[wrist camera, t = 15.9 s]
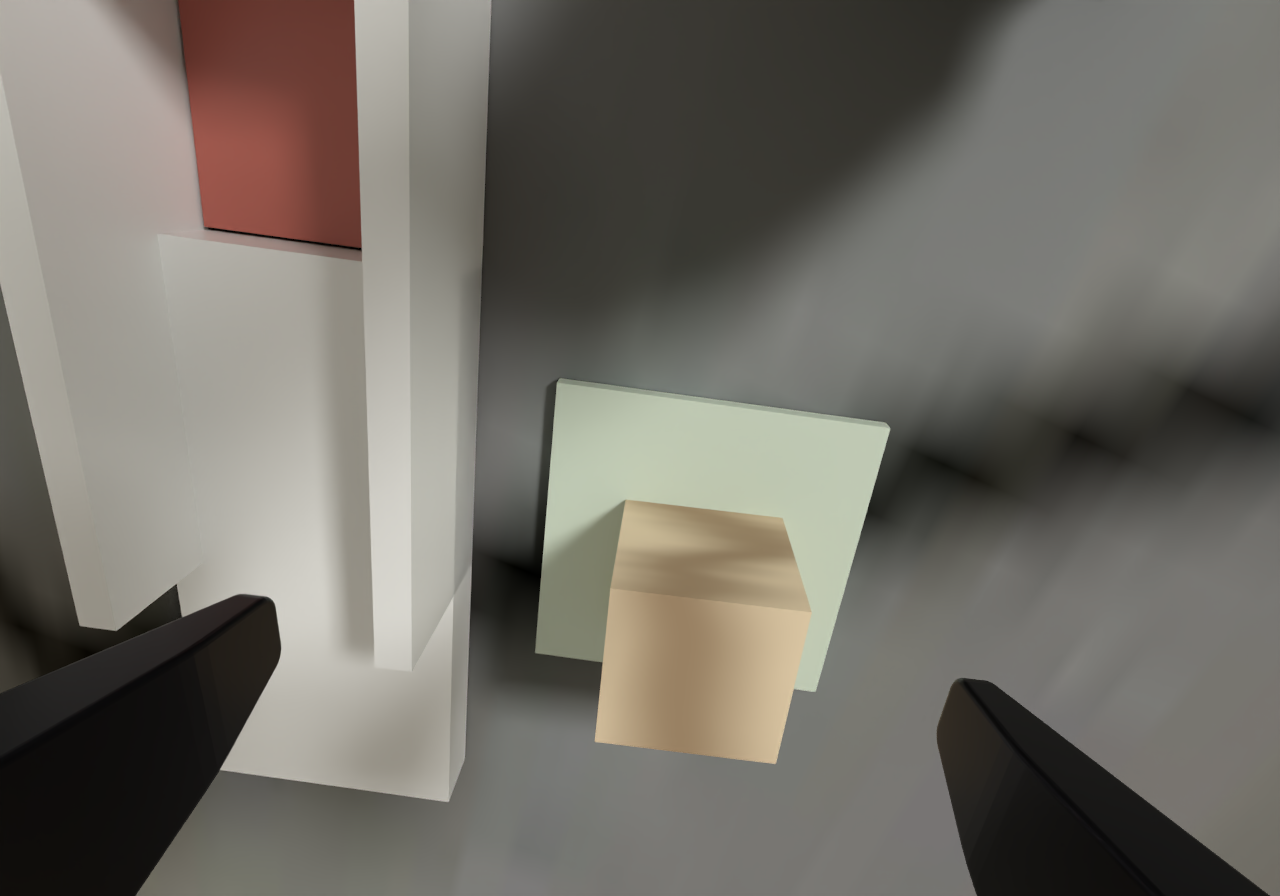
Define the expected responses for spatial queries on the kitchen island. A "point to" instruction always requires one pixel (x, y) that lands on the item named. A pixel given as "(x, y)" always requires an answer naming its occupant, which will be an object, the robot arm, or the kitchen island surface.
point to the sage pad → (697, 496)
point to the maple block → (701, 633)
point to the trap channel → (262, 341)
